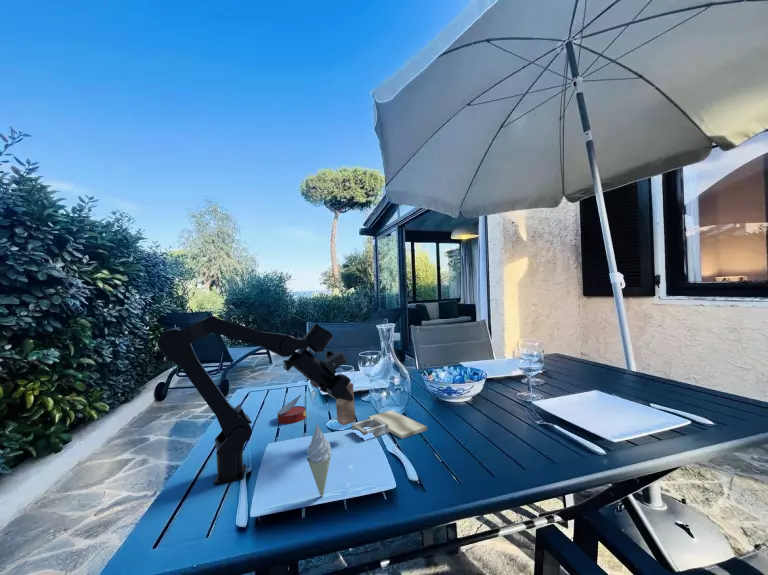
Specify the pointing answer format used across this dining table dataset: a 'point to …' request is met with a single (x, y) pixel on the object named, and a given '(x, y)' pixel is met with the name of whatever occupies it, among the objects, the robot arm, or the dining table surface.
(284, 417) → the canned food
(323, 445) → the ice cream cone
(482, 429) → the dining table surface
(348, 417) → the peg
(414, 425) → the socket
